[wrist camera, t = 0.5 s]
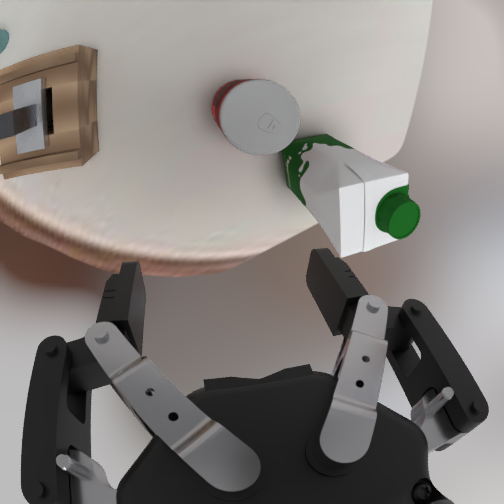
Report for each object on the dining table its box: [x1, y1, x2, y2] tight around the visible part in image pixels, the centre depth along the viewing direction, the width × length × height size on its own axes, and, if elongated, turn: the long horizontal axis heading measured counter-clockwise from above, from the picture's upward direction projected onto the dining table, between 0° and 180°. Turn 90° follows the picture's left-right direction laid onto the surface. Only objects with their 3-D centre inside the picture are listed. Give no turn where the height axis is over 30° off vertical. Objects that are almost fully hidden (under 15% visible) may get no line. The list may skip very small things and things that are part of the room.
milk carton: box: [282, 134, 420, 258], centre depth 32 cm, size 9×9×20 cm
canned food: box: [212, 79, 300, 156], centre depth 29 cm, size 8×8×11 cm
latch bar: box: [0, 78, 49, 154], centre depth 19 cm, size 8×4×6 cm, turn 176°
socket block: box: [0, 45, 99, 179], centre depth 24 cm, size 14×12×8 cm
